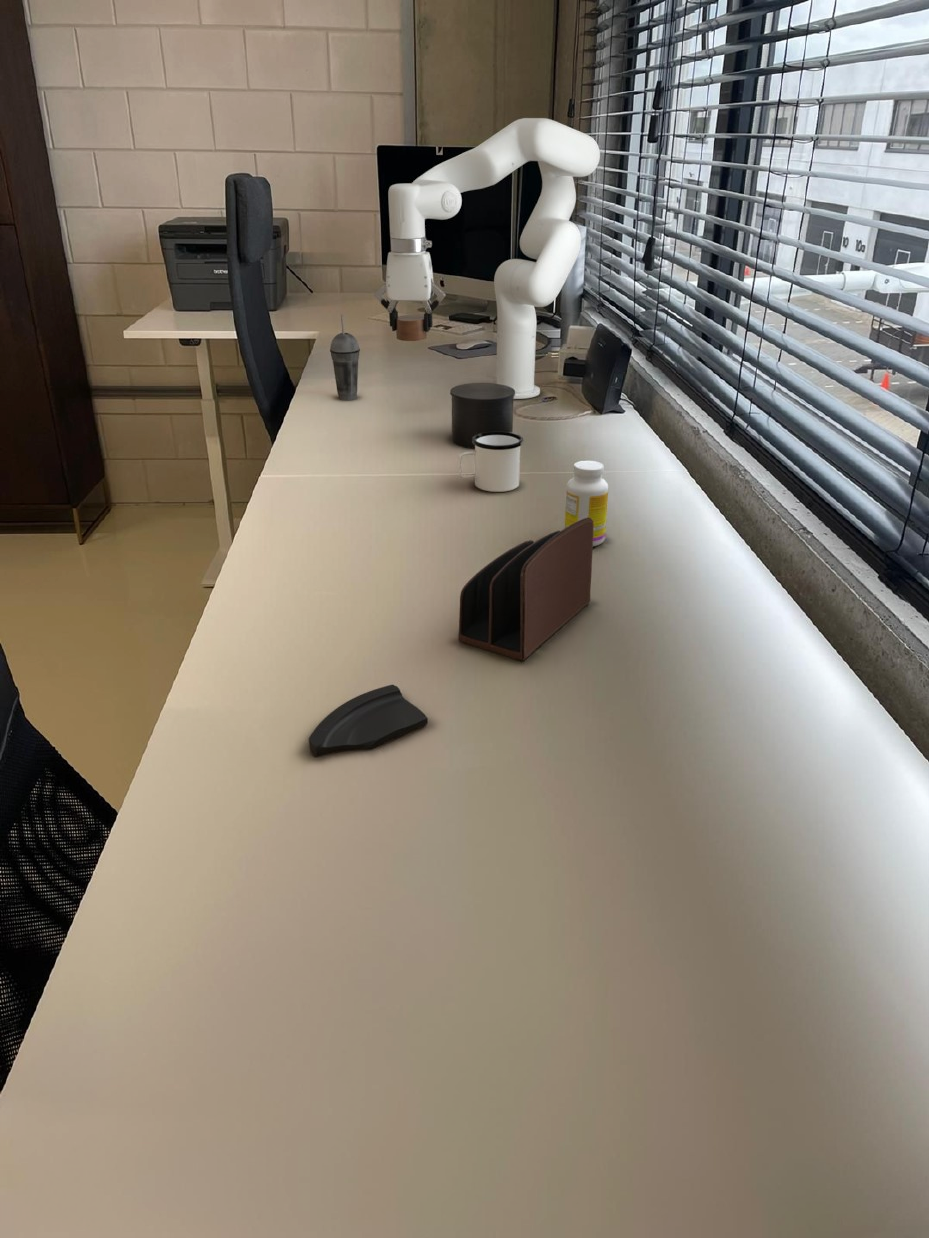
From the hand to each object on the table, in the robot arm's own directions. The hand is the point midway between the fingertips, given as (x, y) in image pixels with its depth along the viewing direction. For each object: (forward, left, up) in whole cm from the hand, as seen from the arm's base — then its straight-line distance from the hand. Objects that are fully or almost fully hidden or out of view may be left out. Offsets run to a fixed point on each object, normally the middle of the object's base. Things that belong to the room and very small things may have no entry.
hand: (411, 329), depth 214 cm
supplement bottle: (+70, +44, -19) cm, 85 cm away
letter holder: (+100, +38, -19) cm, 109 cm away
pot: (+19, +19, -19) cm, 33 cm away
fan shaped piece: (+128, +23, -19) cm, 132 cm away
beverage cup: (-9, -19, -19) cm, 28 cm away
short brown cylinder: (0, 0, -2) cm, 2 cm away
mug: (+47, +25, -19) cm, 57 cm away
